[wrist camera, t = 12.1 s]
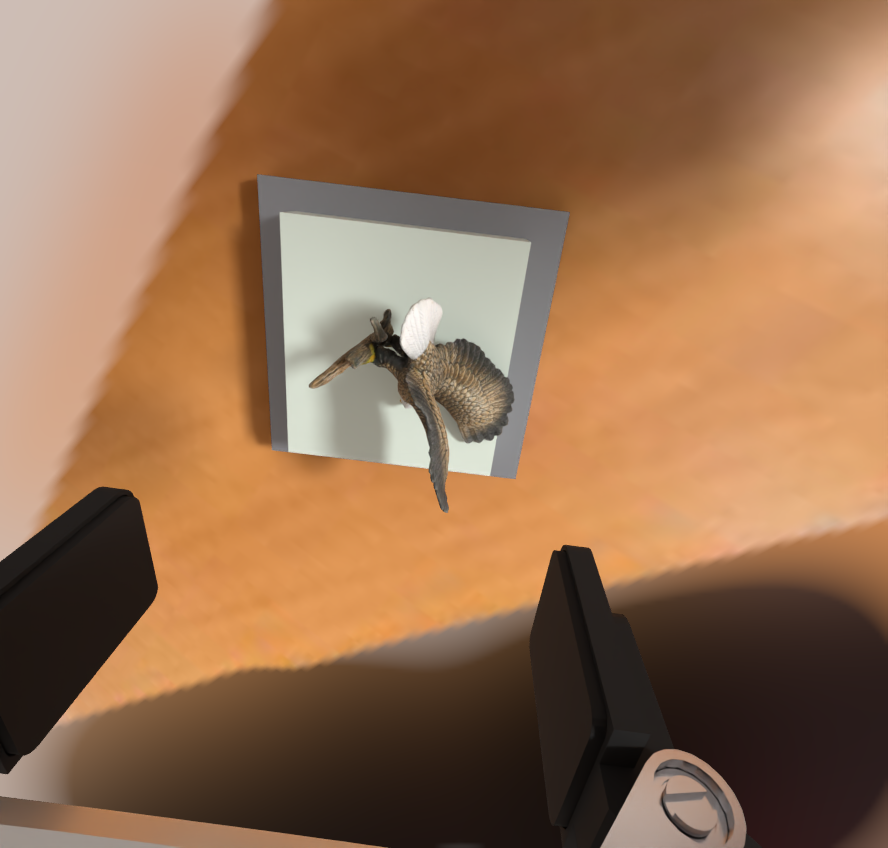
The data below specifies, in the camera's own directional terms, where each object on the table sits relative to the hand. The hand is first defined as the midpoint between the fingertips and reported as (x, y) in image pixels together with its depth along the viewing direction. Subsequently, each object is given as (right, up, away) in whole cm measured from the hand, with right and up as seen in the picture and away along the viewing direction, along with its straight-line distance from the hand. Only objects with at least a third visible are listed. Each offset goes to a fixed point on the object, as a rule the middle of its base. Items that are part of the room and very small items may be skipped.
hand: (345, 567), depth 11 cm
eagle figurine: (+2, +6, +15) cm, 16 cm away
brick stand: (0, +9, +19) cm, 21 cm away
